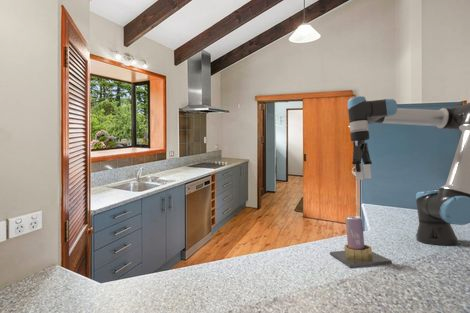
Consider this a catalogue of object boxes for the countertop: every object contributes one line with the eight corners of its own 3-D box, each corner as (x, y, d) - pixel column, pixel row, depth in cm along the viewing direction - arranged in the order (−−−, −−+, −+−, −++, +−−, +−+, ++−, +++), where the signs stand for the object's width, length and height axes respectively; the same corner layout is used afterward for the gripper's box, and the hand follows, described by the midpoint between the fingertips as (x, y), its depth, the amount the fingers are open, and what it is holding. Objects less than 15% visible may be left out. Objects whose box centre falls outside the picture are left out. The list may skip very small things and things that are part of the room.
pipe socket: (366, 251, 110) (365, 240, 110) (391, 263, 94) (390, 250, 94) (330, 254, 108) (329, 243, 109) (350, 267, 92) (348, 254, 93)
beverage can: (364, 254, 102) (360, 216, 104) (366, 259, 97) (362, 218, 98) (348, 253, 105) (344, 216, 106) (349, 258, 99) (345, 218, 100)
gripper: (358, 135, 127) (362, 178, 125) (341, 130, 108) (346, 180, 106) (375, 133, 122) (379, 177, 121) (360, 127, 103) (366, 179, 101)
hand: (364, 179), depth 113 cm, fingers open, 13 cm apart
